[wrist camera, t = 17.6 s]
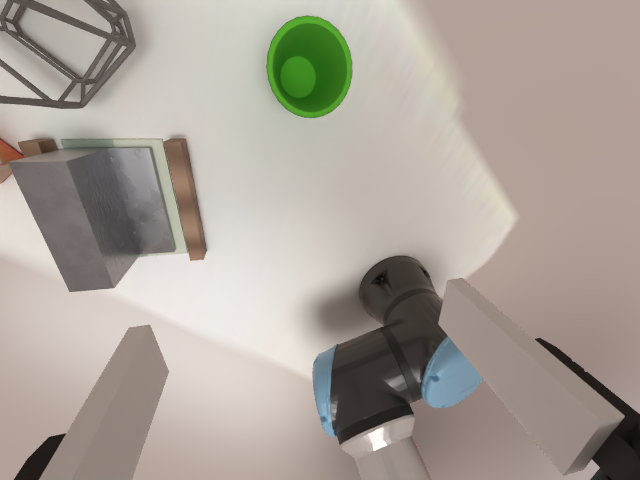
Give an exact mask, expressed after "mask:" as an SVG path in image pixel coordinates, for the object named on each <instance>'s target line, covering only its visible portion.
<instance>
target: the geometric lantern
mask: <svg viewBox="0 0 640 480" xmlns="http://www.w3.org/2000/svg"><path fill="white" fill-rule="evenodd" d="M84 1H85V2H86V3H88V4H89V5H90V6H91V7H92V8H93V9H95V10H96V11H97V12H98V13H99V14H100V15H101V16H103V17H104V18H105V19H106V20H107V21H108V22H109V23H110V24H111V28H112V33H111V34H110V33H107V32H105V31H103V30H100V29H98V28H96V27H93V26H91V25H89V24H87V23H84V22H82V21H80V20H77V19H75V18H73V17H70V16H68V15H66V14H63V13H61V12H59V11H57V10H54V9H52V8H50V7H47V6H45V5H43V4H40V3H38V2H36V1H33V0H8V1H7V3H6V5H5V7H4V9H3V11H2V13H1V15H0V22H1V24H2V26H0V31H5V32H7V33H8V34H10V35H11V36H12V37H14V38H15V39H16V40H18V41H19V42H20V43H22V44H23V45H25V46H26V47H27V48H29V49H30V50H31V51H33V52H34V53H36V54H37V55H38V56H40V57H41V58H42V59H44V60H45V61H46V62H48V63H49V64H51V65H52V66H53V67H55V68H56V69H57V70H59V71H60V72H61V73H63V74H64V75H66V76H67V77H68V78H70V79H71V80H72V83H71V84H70V85H69V87H68V88H67V89H66V91H65V92H64V93H63V94H62V96H61V97H60V98H59V100H58V101H56V100H52V99H50V98H49V97H48V96H47V95H45V94H44V93H43V92H41V91H40V90H39V89H38V88H36V87H35V86H34V85H33V84H31V83H30V82H29V81H28V80H26V79H25V78H24V77H23V76H21V75H20V74H19V73H17V72H16V71H15V70H14V69H12V68H11V67H10V66H9V65H7V64H6V63H5V62H4V61H2V60H1V59H0V66H1V67H3V68H4V69H5V70H6V71H8V72H9V73H10V74H12V75H13V76H14V77H15V78H17V79H18V80H19V81H21V82H22V83H23V84H24V85H26V86H27V87H28V88H30V89H31V90H32V91H33V92H35V93H36V94H37V95H38V96H40V97H41V98H42V99H32V98H19V97H7V96H0V103H4V104H22V105H33V106H43V107H52V108H60V109H78V108H83V107H85V105H86V104H87V103H88V102H89V101H90V100H91V99H92V97H93V96H94V95H95V94H96V93H97V92H98V90H99V89H100V88H101V87H102V86H103V85H104V84H105V82H106V81H107V80H108V79H109V78H110V77H111V76H112V74H113V73H114V72H115V71H116V70H117V69H118V68H119V66H120V65H121V64H122V63H123V62H124V61H125V59H126V58H127V57H128V56H129V55H130V54H131V53H132V51H133V50H134V49H135V47H136V44H135V39H134V35H133V32H132V28H131V24H130V21H129V18H128V15H127V13H126V11H124V10H123V9H122V8H121V7H120V6H119V5H118V3H117V2H116V1H115V0H107V1H108V2H109V3H110V4H109V3H107V2H105V1H103V0H84ZM13 2H15V3H17V4H20V6H19V8H18V10H17V12H16V13H15V15H14V17H13V19H12V20H11V19H8V18H6V16H7V14H8V12H9V10H10V8H11V6H12V4H13ZM25 7H27V8H30V9H33V10H35V11H38V12H40V13H43V14H45V15H48V16H50V17H53V18H55V19H58V20H60V21H63V22H65V23H68V24H70V25H73V26H75V27H78V28H80V29H83V30H85V31H88V32H90V33H93V34H96V35H98V36H101V37H103V38H106V39H107V40H106V42H105V44H104V45H103V47H102V48H101V50H100V52H99V53H98V55H97V56H96V58H95V59H94V61H93V63H92V64H91V66H90V67H89V69H88V71H87V72H86V74H85V75H84V77H83V78H82V79H81V78H80V77H79V76H77V75H76V74H75V73H73V72H72V71H71V70H69V69H68V68H67V67H65V66H64V65H63V64H61V63H60V62H59V61H57V60H56V59H55V58H53V57H52V56H51V55H50V54H48V53H47V52H46V51H44V50H43V49H42V48H40V47H39V46H38V45H36V44H35V43H34V42H32V41H31V40H30V39H28V38H27V37H26V36H24V35H23V33H22V31H21V29H20V28H19V26H18V24H17V22H18V20H19V18H20V16H21V14H22V13H23V11H24V9H25ZM103 8H105V9H107V10H109V11H111V12H113V13H116V14H118V15H117V16H116V17H114V18H113V17H112V16H111V15H110V14H109V13H108V12H107V11H106V10H104V9H103ZM121 18H123V20H124V24H125V27H126V31H127V34H128V38H129V39H128V38H126V35H125V33H124V31H123V28H122V26H121V24H120V23H119V22H118V21H119V20H120V19H121ZM5 21H6V22H9V23H11V24H13V25H14V27H15V28H16V30H17V32H15V31H12V30H9V29H8V28H7V25H6V22H5ZM115 25H116V26H118V28H119V30H120V32H121V34H120V33H118V32H116V28H115ZM115 35H116V36H115ZM18 36H19V37H21V38H23V39H24V40H26V41H27V42H28V43H30V44H31V45H32V46H34V47H35V48H36V49H38V50H39V51H40V52H42V53H43V54H44V55H46V56H47V57H48V58H50V59H51V60H52V61H54V62H55V63H56V64H58V65H59V66H60V67H62V68H63V69H64V70H66V71H67V72H68V73H70V74H71V75H72V76H74V77H75V78H76V79H75V78H74V77H72V76H71V75H70V74H68V73H67V72H66V71H64V70H63V69H61V68H60V67H59V66H57V65H56V64H55V63H53V62H52V61H51V60H49V59H48V58H47V57H45V56H44V55H42V54H41V53H40V52H38V51H37V50H36V49H34V48H33V47H32V46H30V45H29V44H28V43H26V42H25V41H24V40H22V39H21V38H19V37H18ZM117 36H118V37H117ZM119 37H120V38H119ZM111 41H113V42H116V43H118V44H117V46H116V47H115V49H114V50H113V52H112V53H111V55H110V56H109V58H108V59H107V61H106V62H105V64H104V65H103V67H102V68H101V70H100V71H99V73H98V74H97V76H96V77H95V79H88V78H89V76H90V74H91V73H92V71H93V70H94V68H95V67H96V65H97V63H98V62H99V60H100V59H101V57H102V56H103V54H104V52H105V51H106V49H107V48H108V46H109V45H110V43H111ZM122 45H123V46H126V47H127V48H126V49H125V50H124V51H123V52H122V54H121V55H120V56H119V57H118V58H117V59H116V61H115V62H114V63H113V64H112V65H111V66H110V67H109V69H108V70H107V71H106V72H105V73H104V71H105V70H106V68H107V67H108V65H109V64H110V62H111V61H112V59H113V58H114V56H115V55H116V53H117V52H118V50H119V49H120V47H121V46H122ZM103 73H104V74H103ZM102 74H103V76H102ZM101 76H102V77H101ZM100 77H101V78H100ZM77 83H81V101H80V102H68V101H64V100H65V98H66V97H67V96H68V94H69V93H70V92H71V90H72V89H73V88H74V86H75V85H76V84H77ZM93 83H96V84H95V85H94V86H93V87H92V88H91V89H90V91H89V92H88V93H87V94H86V95H85V85H89V84H93Z"/></svg>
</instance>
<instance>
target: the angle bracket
mask: <svg viewBox="0 0 640 480" xmlns="http://www.w3.org/2000/svg"><path fill="white" fill-rule="evenodd" d="M8 164H9V166H10V168H11V170H12V172H13V175H14V177H15V179H16V181H17V183H18V185H19V187H20V189H21V191H22V193H23V195H24V198H25V200H26V202H27V204H28V206H29V208H30V210H31V212H32V214H33V216H34V218H35V221H36V223H37V225H38V227H39V229H40V231H41V233H42V235H43V237H44V239H45V241H46V243H47V246H48V248H49V250H50V252H51V254H52V256H53V258H54V260H55V262H56V264H57V266H58V269H59V271H60V273H61V275H62V277H63V279H64V281H65V283H66V285H67V287H68V289H69V291H70V292H75V291H87V290H98V289H109V288H115V287H116V285H117V284H118V283H119V281H120V280H121V279H122V277H123V276H124V275H125V274H126V272H127V271H128V270H129V268H130V267H131V266H132V264H133V263H134V262H135V260H136V259H137V258H138V256H139V255H140V254H155V253H169V252H175V250H176V245H175V241H174V237H173V233H172V229H171V224H170V220H169V216H168V212H167V208H166V203H165V199H164V195H163V191H162V187H161V183H160V178H159V174H158V170H157V166H156V162H155V157H154V153H153V149H152V147H67V148H63V149H59V150H55V151H51V152H47V153H43V154H39V155H34V156H30V157H26V158H22V159H18V160H14V161H10V162H8Z"/></svg>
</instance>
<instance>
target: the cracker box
mask: <svg viewBox="0 0 640 480" xmlns="http://www.w3.org/2000/svg"><path fill="white" fill-rule="evenodd" d="M22 158H24V156H23V155H21V154H20V153H18V152H17V151H16V150H14V149H13V148H11V147H10V146H9V145H7V144H6V143H4V142H3V141H2V140H0V184H1V183H2V182H3V181H4V180H5V179H6V178H7V177H8V176H9V175H10V174H11V173H12V170H11V168H10V166H9V164H8V162H10V161H14V160H18V159H22Z"/></svg>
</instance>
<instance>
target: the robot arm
mask: <svg viewBox="0 0 640 480" xmlns="http://www.w3.org/2000/svg"><path fill="white" fill-rule="evenodd" d="M359 297H360V300H361V303H362V305H363V307H364V308H365V310H366V311H367V313H368V314H369V315H371V316H372V317H373V318H375V319H376V320H377V321H378V322H379V323H380V324H382V325H383V326H384V327H381V328H379V329H376V330H374V331H371V332H369V333H366V334H364V335H362V336H359V337H357V338H355V339H352V340H350V341H347V342H345V343H342V344H337V345H335V346H334V347H333V348H331V349H329V350H327V351H325V352H323V353H321V354H319V355H318V356H317V357H316V359H315V361H314V364H313V388H314V394H315V400H316V406H317V410H318V413H319V415H320V419H321V423H322V427H323V429H324V431H325V433H326V434H327V435H328V436H332V437H336V436H337V437H338V441H339V444H340V447H341V449H342V450H344V451H345V452H347V453H348V454H350V455H351V456H353V457H354V458H355V460H356V463H357V466H358V469H359V472H360V475H361V479H362V480H432V479H431V477H430V475H429V472H428V470H427V468H426V466H425V463H424V461H423V459H422V457H421V455H420V452H419V450H418V448H417V446H416V443H415V441H414V439H413V436H412V430H413V425H414V421H415V415H414V413H413V411H412V409H411V407H410V403H412V402H415V401H417V400H419V399H421V398H423V399H424V401H425V402H426V403H428V404H429V405H430V406H431V407H434V408H441V407H443V408H446V407H450V406H452V405H454V404H457V403H458V402H460V401H462V400H463V399H465V398H466V397H467V396H469V395H470V394H471V393H472V392H473V391H474V390H475V389H476V388H477V387H478V385H479V384H480V382H481V381H482V380H483V379H484V380H485V381H486V383H487V384H488V385H489V386H490V387H491V389H492V390H493V391H494V393H495V394H496V395H497V396H498V397H499V399H500V400H501V401H502V402H503V404H504V405H505V406H506V407H507V408H508V410H509V411H510V412H511V413H512V414H513V416H514V417H515V418H516V419H517V421H518V422H519V423H520V424H521V426H522V427H523V428H524V429H525V430H526V432H527V433H528V434H529V435H530V437H531V438H532V439H533V440H534V441H535V442H536V444H537V445H538V446H539V447H540V449H541V450H542V451H543V452H544V453H545V455H546V456H547V457H548V458H549V460H550V461H551V462H552V463H553V464H554V466H555V467H556V468H557V469H558V471H559V472H560V473H561V474H562V475H563V476H564V475H567V474H571V473H574V472H578V471H581V470H583V469H584V468H585V467H586V466H587V465H588V463H589V462H590V461H591V459H592V460H593V461H594V462H595V463H596V464H597V465H598V466H599V467H600V469H599V470H598V471H597V472H596V474H595V475H594V476H593V477H592V478H591V480H640V414H639V413H637V412H636V411H635V410H634V409H632V408H631V407H630V406H629V405H627V404H626V403H625V402H624V401H622V400H621V399H620V398H619V397H618V396H616V395H615V394H613V393H612V392H611V391H610V390H609V389H608V388H606V387H605V386H604V385H603V384H601V383H600V382H599V381H598V380H597V379H595V378H594V377H593V376H592V375H590V374H589V373H588V372H585V371H584V369H583V368H582V367H581V366H579V365H578V364H576V363H575V362H573V361H572V359H571V358H569V357H568V356H567V355H566V354H564V353H563V352H562V351H561V350H560V349H558V348H557V347H555V346H553V345H552V344H550V343H548V342H546V341H544V340H542V339H541V338H537V339H534V338H532V337H531V336H530V335H529V334H528V333H526V332H525V331H524V330H523V329H522V328H521V327H519V326H518V325H517V324H516V323H515V322H513V321H512V320H511V319H510V318H509V317H508V316H506V315H505V314H504V313H503V312H502V311H500V310H499V309H498V308H497V307H495V305H493V304H492V303H491V302H490V301H489V300H487V299H486V298H485V297H484V296H483V295H482V294H480V293H479V292H478V291H477V290H476V289H475V288H473V287H472V286H471V285H470V284H469V283H467V282H466V281H465V280H464V279H463V278H459V279H452V280H448V281H447V286H446V290H445V295H444V300H442V299H441V298H440V297H439V296H438V295H437V294H436V292H435V289H434V287H433V284H432V281H431V279H430V276H429V274H428V272H427V270H426V269H425V268H424V267H423V266H422V265H421V264H420V263H419V262H418V261H417V260H415V259H413V258H410V257H405V256H397V257H392V258H388V259H386V260H383V261H381V262H380V263H378V264H377V265H375V266H374V267H373V268H372V269H370V270H369V272H368V273H367V274H366V275H365V277H364V278H363V280H362V282H361V285H360V289H359ZM168 373H169V370H168V368H167V366H166V363H165V361H164V358H163V356H162V353H161V351H160V348H159V346H158V343H157V341H156V338H155V336H154V333H153V331H152V328H151V326H150V325H145V326H137V327H130V328H129V329H128V330H127V332H126V334H125V335H124V337H123V339H122V340H121V342H120V344H119V345H118V347H117V349H116V350H115V352H114V354H113V355H112V357H111V359H110V361H109V362H108V364H107V366H106V367H105V369H104V371H103V372H102V374H101V376H100V377H99V379H98V381H97V383H96V384H95V386H94V388H93V389H92V391H91V393H90V394H89V396H88V398H87V399H86V401H85V403H84V405H83V407H82V408H81V410H80V411H79V413H78V415H77V416H76V418H75V420H74V422H73V423H72V425H71V427H70V429H69V430H68V432H67V433H66V434H61V435H56V436H51V437H49V438H48V439H47V440H46V441H45V442H44V443H43V444H42V445H41V446H40V447H39V448H38V449H37V450H36V451H35V452H34V453H33V454H32V455H31V456H30V457H29V458H28V459H27V461H26V462H25V464H24V465H23V467H22V468H21V470H20V471H19V473H18V474H17V476H16V477H15V479H14V480H132V478H133V475H134V472H135V469H136V466H137V463H138V461H139V457H140V455H141V451H142V449H143V446H144V443H145V440H146V437H147V434H148V431H149V428H150V425H151V423H152V419H153V417H154V414H155V411H156V408H157V405H158V402H159V399H160V396H161V393H162V390H163V387H164V385H165V382H166V379H167V376H168Z"/></svg>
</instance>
